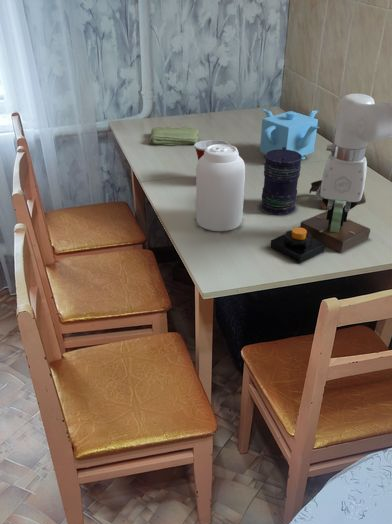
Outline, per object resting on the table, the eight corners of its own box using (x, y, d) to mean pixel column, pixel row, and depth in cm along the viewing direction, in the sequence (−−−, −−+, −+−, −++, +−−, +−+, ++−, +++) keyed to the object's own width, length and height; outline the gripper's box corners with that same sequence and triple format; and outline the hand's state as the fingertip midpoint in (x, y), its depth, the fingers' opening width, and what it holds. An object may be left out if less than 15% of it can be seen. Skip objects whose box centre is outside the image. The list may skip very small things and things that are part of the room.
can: (194, 231, 144) (195, 156, 131) (197, 211, 153) (197, 139, 141) (242, 233, 143) (246, 158, 130) (241, 212, 153) (246, 140, 140)
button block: (323, 251, 136) (326, 237, 133) (299, 263, 131) (301, 249, 129) (294, 237, 142) (296, 223, 139) (270, 247, 137) (271, 233, 135)
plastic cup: (220, 173, 175) (221, 135, 167) (233, 186, 167) (235, 147, 159) (188, 178, 172) (188, 139, 164) (200, 191, 164) (201, 151, 156)
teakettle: (259, 166, 180) (263, 120, 170) (259, 146, 194) (263, 102, 184) (316, 168, 178) (323, 122, 169) (312, 148, 193) (319, 104, 183)
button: (308, 237, 134) (309, 231, 133) (299, 242, 132) (300, 235, 131) (298, 232, 136) (298, 225, 135) (288, 236, 134) (289, 230, 133)
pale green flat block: (338, 232, 137) (342, 211, 133) (329, 231, 138) (333, 210, 134) (340, 219, 143) (344, 198, 139) (332, 217, 144) (335, 197, 140)
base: (369, 238, 141) (372, 227, 139) (339, 253, 135) (341, 242, 133) (327, 219, 149) (329, 209, 147) (297, 233, 143) (299, 222, 141)
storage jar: (262, 199, 160) (267, 136, 148) (295, 201, 158) (303, 138, 147) (259, 214, 152) (265, 149, 141) (294, 216, 151) (303, 151, 139)
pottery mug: (311, 211, 154) (307, 182, 153) (312, 212, 163) (308, 184, 162) (355, 203, 151) (351, 173, 150) (353, 204, 160) (349, 176, 159)
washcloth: (198, 146, 194) (198, 136, 192) (149, 145, 194) (149, 136, 192) (198, 133, 204) (198, 125, 202) (151, 133, 204) (151, 124, 202)
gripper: (312, 153, 127) (302, 225, 139) (383, 160, 124) (367, 233, 136) (316, 143, 133) (306, 213, 144) (383, 149, 129) (368, 220, 141)
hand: (335, 222), depth 140 cm, fingers closed on pale green flat block, 2 cm apart
